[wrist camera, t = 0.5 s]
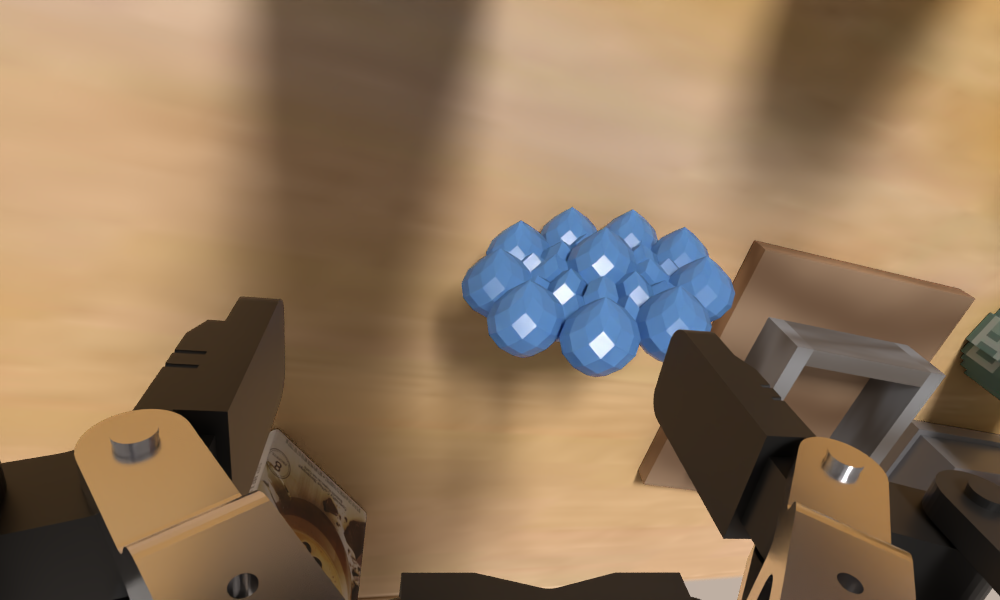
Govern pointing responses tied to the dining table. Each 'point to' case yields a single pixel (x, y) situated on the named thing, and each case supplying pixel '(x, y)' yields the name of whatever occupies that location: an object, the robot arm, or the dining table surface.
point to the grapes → (595, 289)
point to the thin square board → (831, 347)
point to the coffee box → (314, 511)
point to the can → (984, 354)
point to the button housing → (941, 454)
